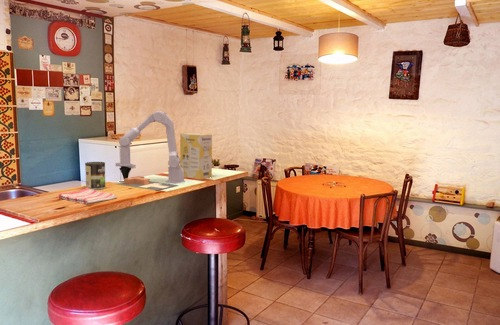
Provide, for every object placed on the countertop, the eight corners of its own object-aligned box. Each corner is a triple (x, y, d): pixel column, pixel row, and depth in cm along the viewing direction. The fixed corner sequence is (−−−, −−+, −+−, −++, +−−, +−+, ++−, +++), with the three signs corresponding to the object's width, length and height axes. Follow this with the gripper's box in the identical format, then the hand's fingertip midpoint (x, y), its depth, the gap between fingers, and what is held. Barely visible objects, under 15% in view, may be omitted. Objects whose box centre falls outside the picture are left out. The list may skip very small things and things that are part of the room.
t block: (139, 180, 251) (139, 176, 250) (154, 183, 245) (154, 178, 244) (124, 183, 240) (124, 178, 240) (139, 186, 234) (139, 181, 234)
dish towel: (87, 193, 217) (87, 186, 217) (117, 199, 205) (117, 192, 205) (57, 199, 203) (57, 192, 203) (88, 206, 191) (87, 198, 190)
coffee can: (109, 186, 233) (108, 162, 231) (99, 190, 223) (98, 164, 221) (92, 185, 235) (91, 161, 233) (81, 189, 225) (81, 163, 223)
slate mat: (138, 180, 255) (138, 179, 255) (178, 185, 240) (178, 185, 240) (115, 184, 239) (115, 184, 239) (156, 191, 224) (156, 190, 224)
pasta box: (211, 177, 270) (211, 134, 267) (200, 179, 262) (200, 135, 258) (191, 174, 281) (191, 133, 277) (180, 176, 273) (180, 133, 269)
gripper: (111, 156, 246) (111, 178, 248) (129, 158, 239) (129, 181, 241) (120, 155, 252) (120, 177, 254) (138, 157, 245) (138, 179, 247)
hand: (125, 179), depth 248 cm, fingers closed
